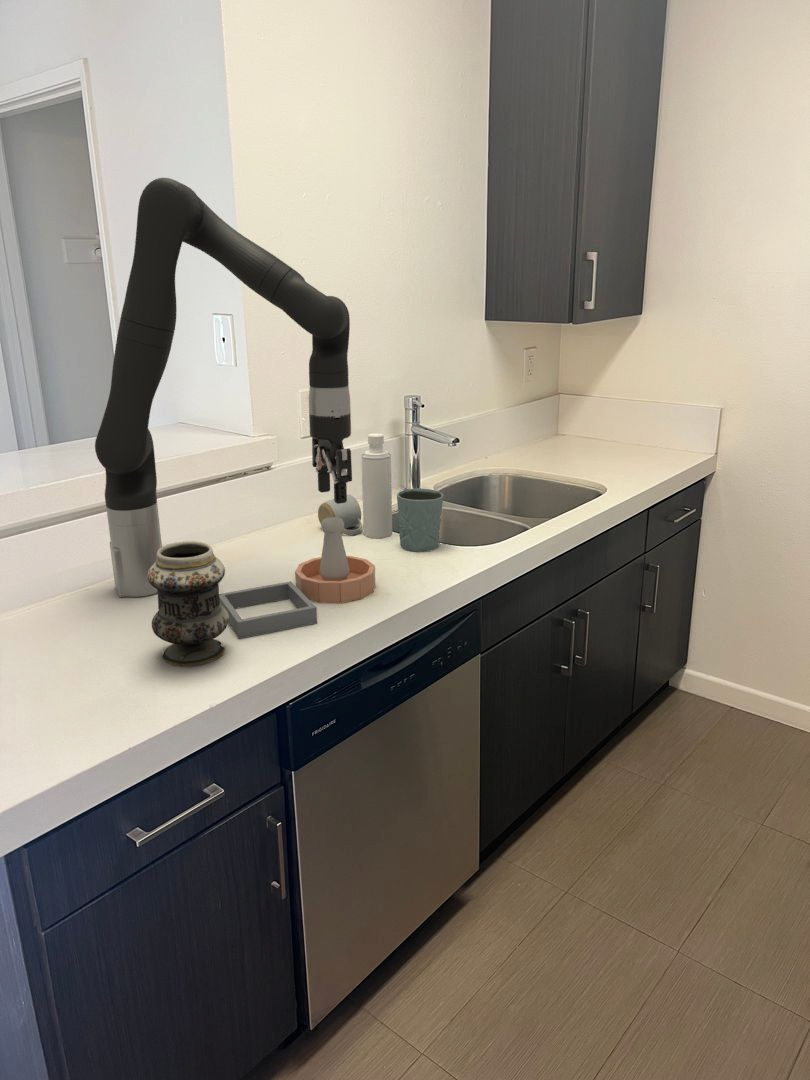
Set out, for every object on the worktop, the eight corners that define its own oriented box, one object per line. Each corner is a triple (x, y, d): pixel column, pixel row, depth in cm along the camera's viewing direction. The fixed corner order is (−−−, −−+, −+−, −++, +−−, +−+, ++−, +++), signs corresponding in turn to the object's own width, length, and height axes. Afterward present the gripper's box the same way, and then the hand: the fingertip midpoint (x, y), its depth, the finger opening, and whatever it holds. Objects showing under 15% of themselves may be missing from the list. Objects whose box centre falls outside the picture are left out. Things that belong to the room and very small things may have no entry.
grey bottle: (369, 528, 196) (367, 424, 188) (396, 531, 194) (394, 425, 186) (359, 536, 191) (356, 429, 183) (386, 539, 188) (384, 431, 180)
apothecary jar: (243, 657, 133) (234, 552, 127) (169, 677, 126) (156, 567, 121) (216, 631, 142) (207, 532, 137) (146, 648, 136) (133, 545, 130)
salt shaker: (345, 589, 157) (342, 524, 153) (316, 587, 158) (313, 522, 154) (353, 578, 163) (350, 515, 159) (325, 576, 164) (322, 514, 160)
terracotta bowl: (312, 608, 151) (311, 588, 150) (287, 581, 164) (285, 562, 163) (387, 594, 157) (386, 574, 156) (356, 569, 170) (356, 551, 169)
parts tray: (239, 638, 139) (237, 622, 138) (218, 609, 151) (217, 594, 150) (317, 623, 145) (316, 607, 144) (291, 595, 157) (291, 581, 156)
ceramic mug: (316, 528, 197) (314, 497, 194) (343, 521, 202) (342, 491, 199) (342, 539, 189) (342, 507, 187) (370, 532, 194) (370, 500, 192)
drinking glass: (388, 544, 185) (387, 493, 181) (423, 535, 191) (423, 485, 187) (416, 556, 178) (416, 502, 174) (452, 546, 183) (452, 494, 179)
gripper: (297, 406, 154) (300, 490, 159) (324, 418, 142) (326, 509, 147) (335, 403, 157) (337, 486, 162) (364, 415, 145) (365, 504, 150)
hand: (332, 497), depth 155 cm, fingers open, 8 cm apart
